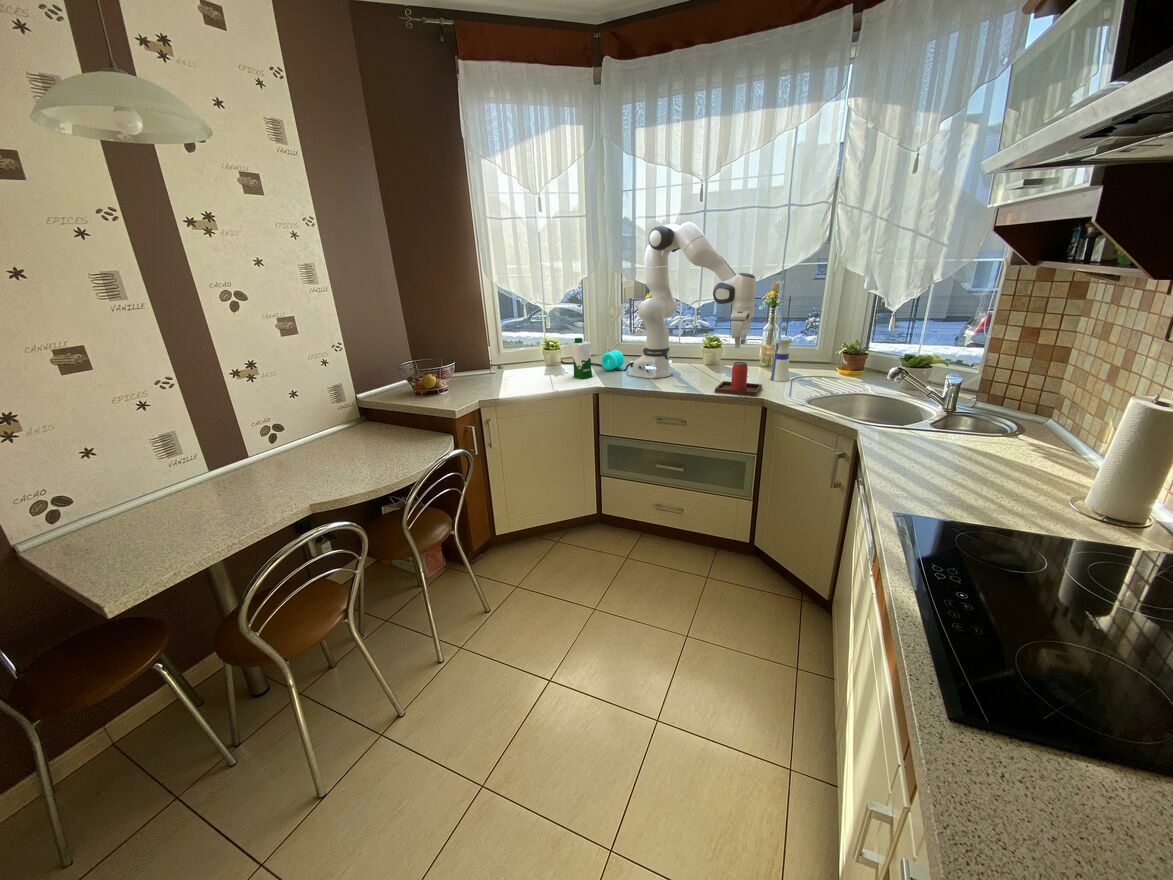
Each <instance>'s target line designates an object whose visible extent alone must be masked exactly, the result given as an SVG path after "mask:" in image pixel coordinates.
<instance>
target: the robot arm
mask: <svg viewBox="0 0 1173 880" xmlns="http://www.w3.org/2000/svg"><path fill="white" fill-rule="evenodd" d="M647 237H648V239H647V240H648V245H647V247H646V249H645V255H644V274H645V275H644V276H645V278H644V279H645V286H646V287H647V288H648V290H649V292H650V295H651V297H650V298H649V297H648V298H646V299H645V300H643V301H641V303H640V304H639V305H638V308H637V314H638V317H639V318H640V319H641V320H642V322H643V324H644V328H645V332H646V347H645V348H643V349H642V353H643V354H642V355H640V357H638V358H637V359H636V360H634V361H631V362H630V363H627V365H626V366H625V368H624V369H620V368H615V369H613V370H612V371H615V372H625V371H627V370H628V368H629V367H630V368H632V369H631V370H629V371H628V373H627V376H630V377H636V378H643V379H651V380H652V379H658V378H659V379H662V378H668V377H670V376H672V371H671V368H670V367H671V366H670V364H671V363H672V360H670V355H671V354H670V353H671V352H670V332H669V330H668V328H667V327H666V324H665V319H667V318H670V317H671V316H673V315H674V314H675V313H677V310H678V302H677V300H676V298H674V296H673V293H672V290H671V286H670V281H669V280H670V278H669V261H668V259H669V257H668V256H669V255H670V253H671V252H672V253H676V252H677V251H678V250H681V251H682V252H683V254H684V255H685V257H686V259H687V260H688V261H689V262H690V263H691V264H692V265H694V266H696V267H700V268H705V269H708V270H710V271H712V272H713V273H715V274H716V276H717V278H718V279H719V280H720V282H718V283H716V284H715V286H714V287H713V290H712V298H713V300H714V302H715V303H716V304H718V305H732V310H731V314H730V320H731V325H730V336H731V339H734V345H735V346H734V348H735V349H739V348H741V345H745V344H746V339H747V335H748V334H749V333H750V332H751V326H752V319H754V315H755V306H756V305H755V298H756V296H757V279H756V276H755V275H754V274H753V273H752V274H751V273H748V272H739V273H736V272H735V271H734V270H733V269H732V268H731V266H730V265H729V264H728V262H726V259H724V258H723V256H722V255H721V254H719V253H718V251H717V250H716V249H715V247H713V245H712V244H711V242H710V241H709V239H707V237H706V236H705V234H704V233H703V231H702V230H701V229H700V228H699V226H697V224H695V223H693V222H692V221H686V222H684V223H682V224H674V223H670V224H669V223H668V224H664V225H662V224H660V225H657V226H654V227H653V228H651V230H650V231H649V233H648V236H647ZM560 363H561V364H564V365H574V363H573V361H572V362H569V361H568V362H567V361H563V360H561V362H560ZM592 365H593V366H599V367H602V368H603V366H602V364H601V363H595V362H591V366H592Z"/></svg>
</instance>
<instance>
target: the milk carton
mask: <svg viewBox="0 0 1173 880" xmlns="http://www.w3.org/2000/svg"><path fill="white" fill-rule="evenodd" d="M592 344H593V343H592V342H590V341H585V340H583V337H575V338H574V342H571V343H570V346H571V350H572V360H573V361H572V362H573V363H574V364H573V378H575V379H580V380H584V379H589V378H592V377H593V371H592V365H591V363H592V356H591V355H592V354H591V353H592V352H591V349H592Z"/></svg>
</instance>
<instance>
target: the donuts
mask: <svg viewBox="0 0 1173 880" xmlns="http://www.w3.org/2000/svg"><path fill="white" fill-rule="evenodd" d="M624 363H625V357H624V354H623V353H622V352H621V351H620V350H617V349H613V350H611V351H609V352H604V353H603V354H602V356H601V358H600V364H601V365H602V366H603V367H602V366H601V367H602V368H603V369H604V370H606V371H609V372H611V371H614V370H613V369H620V368H621V367H623V365H624Z"/></svg>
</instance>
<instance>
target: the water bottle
mask: <svg viewBox="0 0 1173 880" xmlns="http://www.w3.org/2000/svg"><path fill="white" fill-rule="evenodd" d="M787 329H788V327H787V326H786V325H783V327H780V330H781V333H783V332H785V333H787ZM791 344H793V339H792V338H791V337H783V338H782V339H778V338H776V337H775V338H774V340H773V342H772V345H775V349H774V351H773V352H774V356H773V357H774V358H773V359H772V360H773V361H772V368H771V375H770V380H771V381H773V382H787V381H789V369H790V359H789V358H790V353H791V350H790V345H791Z"/></svg>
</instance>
